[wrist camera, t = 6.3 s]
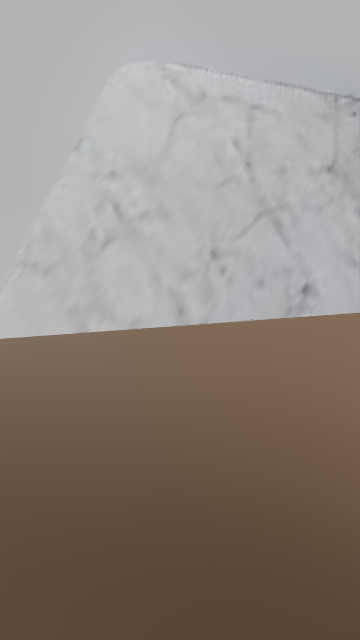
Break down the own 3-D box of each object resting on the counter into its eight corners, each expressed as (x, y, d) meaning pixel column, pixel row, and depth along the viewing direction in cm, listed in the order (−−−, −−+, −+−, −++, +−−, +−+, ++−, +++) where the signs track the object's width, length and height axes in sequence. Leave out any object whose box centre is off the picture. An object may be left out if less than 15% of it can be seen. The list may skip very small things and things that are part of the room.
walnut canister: (239, 485, 15) (680, 1423, 1) (133, 491, 15) (-404, 1376, 2) (228, 377, 16) (398, 310, 3) (131, 383, 16) (-172, 351, 3)
